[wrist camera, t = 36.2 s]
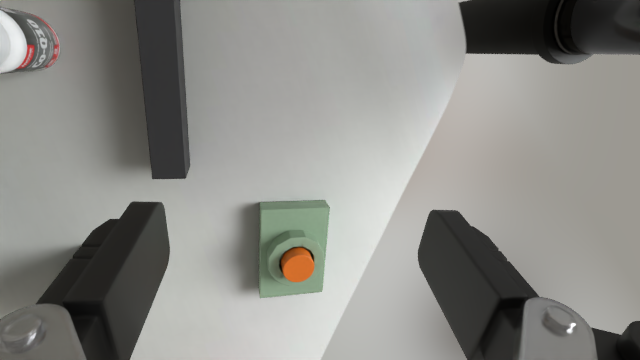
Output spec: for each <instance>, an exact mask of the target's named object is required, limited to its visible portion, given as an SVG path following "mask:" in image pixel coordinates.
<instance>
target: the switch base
mask: <svg viewBox="0 0 640 360" xmlns="http://www.w3.org/2000/svg"><path fill="white" fill-rule="evenodd" d="M329 210H330V207H329V206H328V204H327V203H326V201H325V200H317V201H286V202H260V215H259V294H260V298H266V297H276V296H286V295H296V294H305V293H315V292H322V290H323V278H324V267H325V256H326V244H327V233H328V222H329ZM296 247H300V248H304V249H306V250H307V251H308V252H309V253H310V255H311V257H312V260H313V262H314V271H313V273H312V275H311V276H310V277H309V278H308V279H306V280H304V281H302V282H291V281H289V280H288V279H286V278H285V276H284V274H283V270H282V266H281V259H282V257H283V255H284V254H285V252H287V251H288V250H290V249H292V248H296Z"/></svg>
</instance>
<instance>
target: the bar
mask: <svg viewBox="0 0 640 360" xmlns="http://www.w3.org/2000/svg"><path fill="white" fill-rule="evenodd" d="M134 2H135V12H136V22H137V32H138V42H139V51H140V61H141V71H142V81H143V91H144V101H145V111H146V121H147V130H148V140H149V150H150V160H151V170H152V179H185V178H186V176H187V173H188V170H189V167H190V157H189V141H188V124H187V108H186V92H185V75H184V59H183V43H182V26H181V10H180V0H134Z"/></svg>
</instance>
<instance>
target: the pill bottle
mask: <svg viewBox="0 0 640 360" xmlns="http://www.w3.org/2000/svg"><path fill="white" fill-rule="evenodd" d="M59 54H60V42H59V39H58V37H57V35H56V33H55V31H54V30H53V29H52V27H51V26H50V25H49V24H48V23H47V22H45V21H44V20H42V19H41V18H39V17H37V16H35V15H33V14H30V13H26V12H22V11H17V10H12V9H8V8H2V7H0V73H11V72H22V71H36V70H42V69H46V68H48V67H50V66H52V65H53V64H54V63H55V62H56V61H57V59H58V57H59Z"/></svg>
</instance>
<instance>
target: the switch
mask: <svg viewBox="0 0 640 360" xmlns="http://www.w3.org/2000/svg"><path fill="white" fill-rule="evenodd" d="M281 266H282V270H283V274H284V276H285V278H286V279H288V280H289V281H291V282H302V281H304V280H306V279H308V278H309V277H310V276H311V275H312V273H313V271H314V262H313V260H312V257H311V255H310V253H309V252H308V251H307V250H306V249H304V248H300V247H296V248H292V249H290V250H288V251H287V252H285V254H284V255H283V257H282V259H281Z"/></svg>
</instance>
